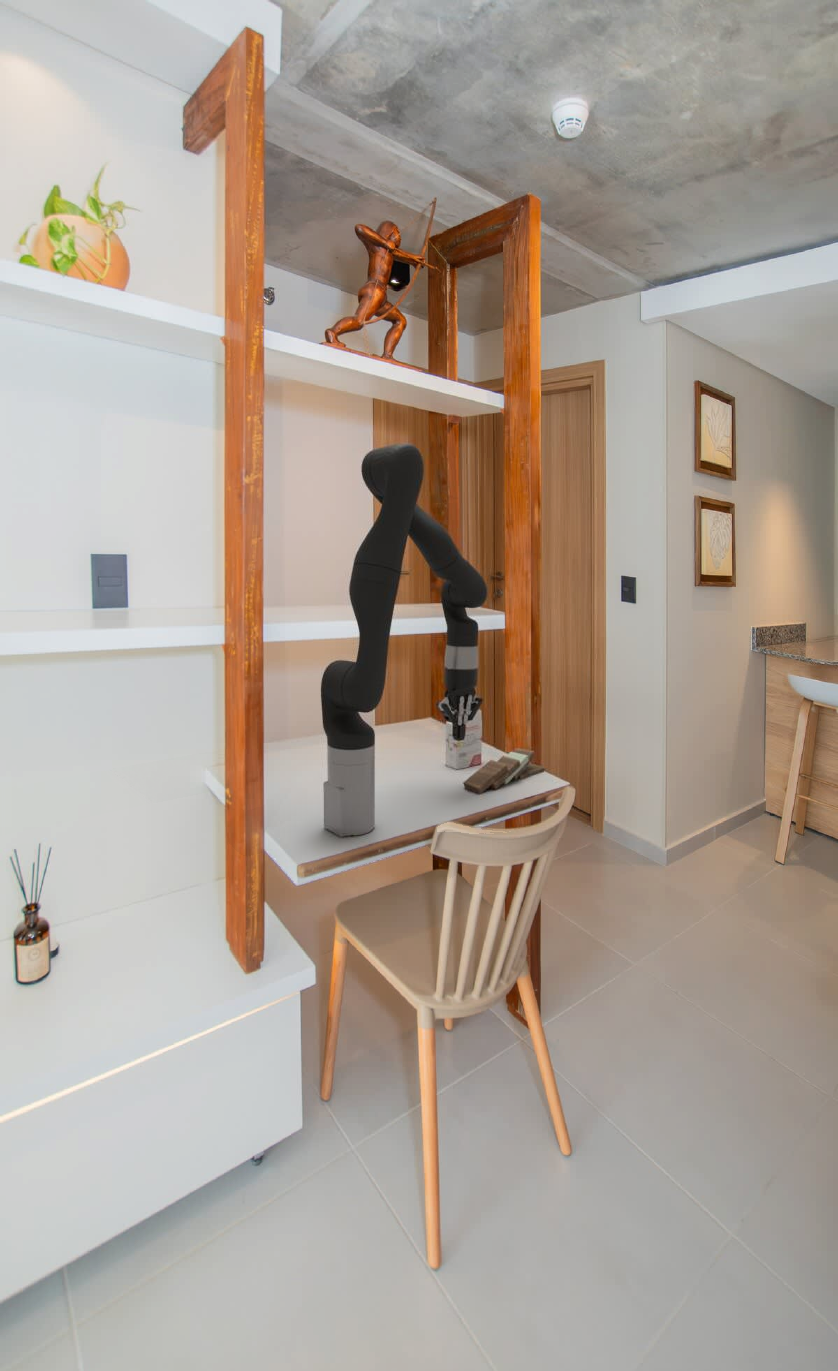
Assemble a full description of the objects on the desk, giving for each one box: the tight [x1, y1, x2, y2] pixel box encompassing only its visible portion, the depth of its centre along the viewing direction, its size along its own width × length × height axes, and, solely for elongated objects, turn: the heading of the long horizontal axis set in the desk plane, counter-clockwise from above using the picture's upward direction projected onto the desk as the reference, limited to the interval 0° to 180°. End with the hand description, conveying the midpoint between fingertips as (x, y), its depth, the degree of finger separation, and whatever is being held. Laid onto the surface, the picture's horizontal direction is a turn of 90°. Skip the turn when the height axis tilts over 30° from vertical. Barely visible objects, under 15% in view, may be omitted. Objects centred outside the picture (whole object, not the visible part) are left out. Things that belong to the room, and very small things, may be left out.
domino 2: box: [488, 755, 521, 790], centre depth 158 cm, size 2×5×10 cm
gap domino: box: [502, 751, 529, 785], centre depth 161 cm, size 2×5×10 cm
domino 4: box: [516, 762, 546, 780], centre depth 166 cm, size 2×5×10 cm
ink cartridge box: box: [445, 709, 483, 770], centre depth 171 cm, size 9×5×15 cm, turn 126°
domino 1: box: [462, 759, 508, 795], centre depth 155 cm, size 2×5×10 cm
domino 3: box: [511, 747, 536, 781], centre depth 164 cm, size 2×5×10 cm
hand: (458, 739), depth 151 cm, fingers closed
